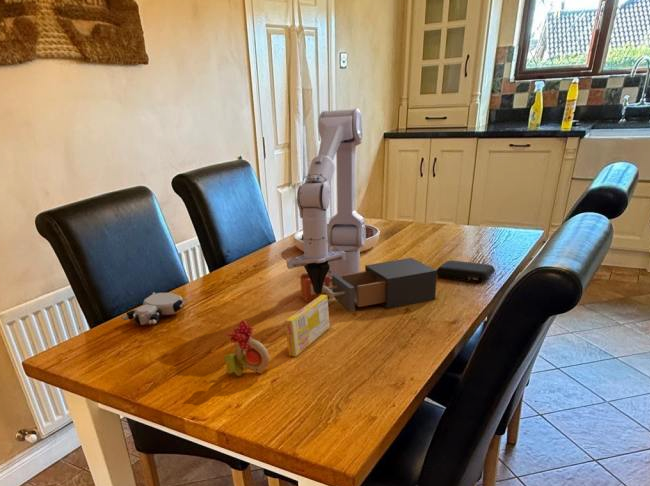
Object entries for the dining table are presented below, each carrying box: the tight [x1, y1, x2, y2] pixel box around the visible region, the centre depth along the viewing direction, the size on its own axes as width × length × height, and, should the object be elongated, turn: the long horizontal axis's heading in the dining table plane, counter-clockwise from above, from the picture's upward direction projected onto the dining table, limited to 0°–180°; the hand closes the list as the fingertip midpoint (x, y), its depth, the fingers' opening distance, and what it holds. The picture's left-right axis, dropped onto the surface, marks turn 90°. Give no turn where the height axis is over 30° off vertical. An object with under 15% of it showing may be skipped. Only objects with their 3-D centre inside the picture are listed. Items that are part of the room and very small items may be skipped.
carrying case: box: [436, 260, 496, 283], centre depth 144 cm, size 11×3×15 cm
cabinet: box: [364, 257, 438, 309], centre depth 134 cm, size 14×13×8 cm
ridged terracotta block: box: [299, 272, 331, 303], centre depth 137 cm, size 7×5×7 cm
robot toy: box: [120, 291, 190, 326], centre depth 134 cm, size 12×4×15 cm
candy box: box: [284, 295, 331, 358], centre depth 113 cm, size 16×2×8 cm, turn 149°
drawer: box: [322, 270, 386, 312], centre depth 131 cm, size 17×12×6 cm
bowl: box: [293, 223, 380, 253], centre depth 180 cm, size 30×30×8 cm
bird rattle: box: [223, 319, 270, 377], centre depth 102 cm, size 6×11×9 cm
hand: (317, 292), depth 128 cm, fingers closed
